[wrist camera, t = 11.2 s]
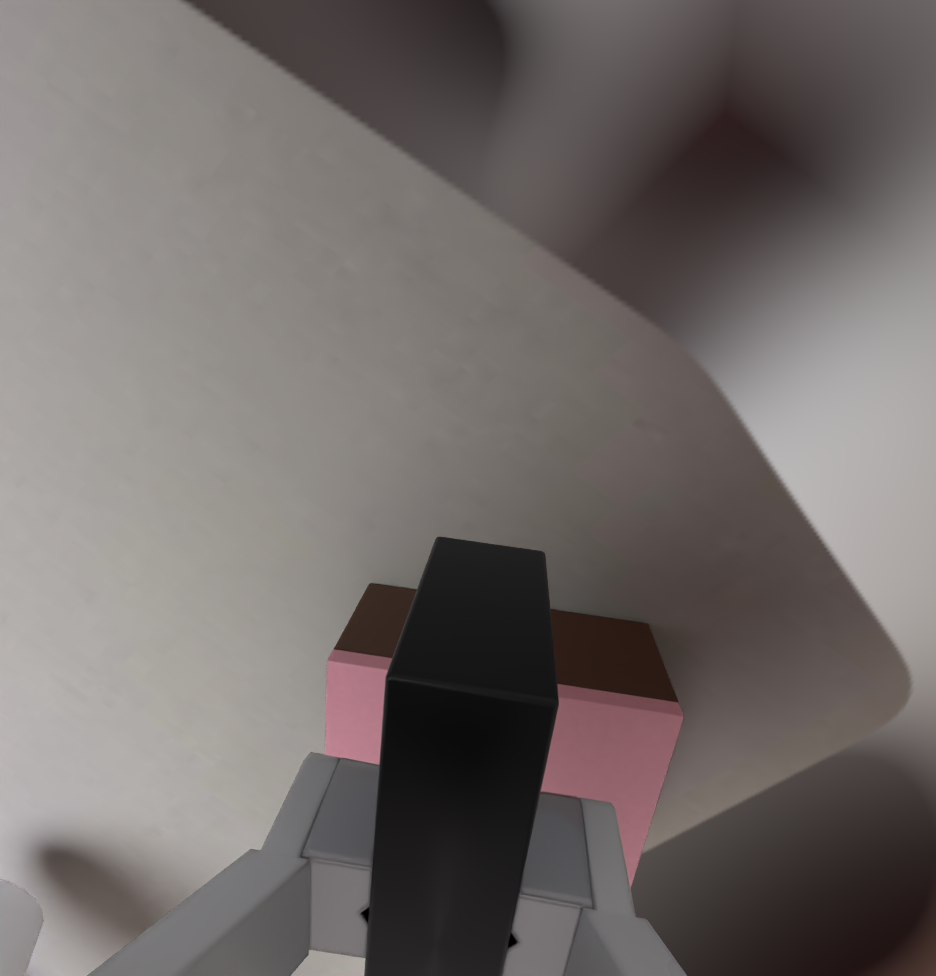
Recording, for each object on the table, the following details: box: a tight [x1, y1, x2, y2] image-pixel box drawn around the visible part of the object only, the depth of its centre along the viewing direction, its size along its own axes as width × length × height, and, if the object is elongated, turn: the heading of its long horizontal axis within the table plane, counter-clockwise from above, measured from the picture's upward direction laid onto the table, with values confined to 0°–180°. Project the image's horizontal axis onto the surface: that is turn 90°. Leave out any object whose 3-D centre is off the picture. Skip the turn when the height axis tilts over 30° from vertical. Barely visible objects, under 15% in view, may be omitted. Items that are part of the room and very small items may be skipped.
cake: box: [541, 610, 684, 888], centre depth 22 cm, size 10×6×6 cm, turn 174°
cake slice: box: [325, 584, 417, 765], centre depth 23 cm, size 10×4×6 cm, turn 174°
